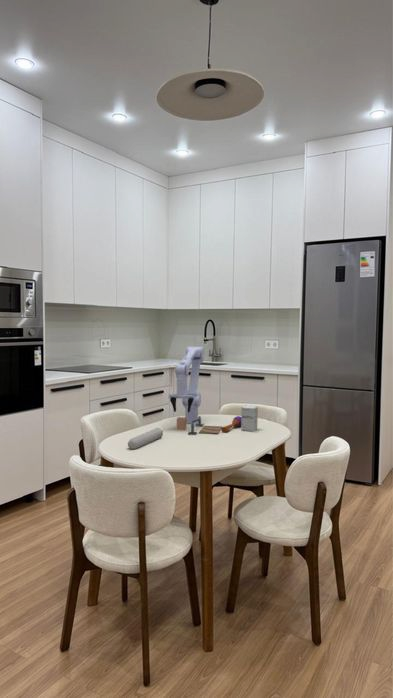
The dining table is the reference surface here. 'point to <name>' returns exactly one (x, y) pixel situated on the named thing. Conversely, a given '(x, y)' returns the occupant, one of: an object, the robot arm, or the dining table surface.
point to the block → (181, 423)
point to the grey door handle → (195, 425)
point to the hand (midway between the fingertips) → (181, 411)
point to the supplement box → (249, 418)
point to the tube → (145, 438)
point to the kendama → (235, 423)
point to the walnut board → (210, 430)
